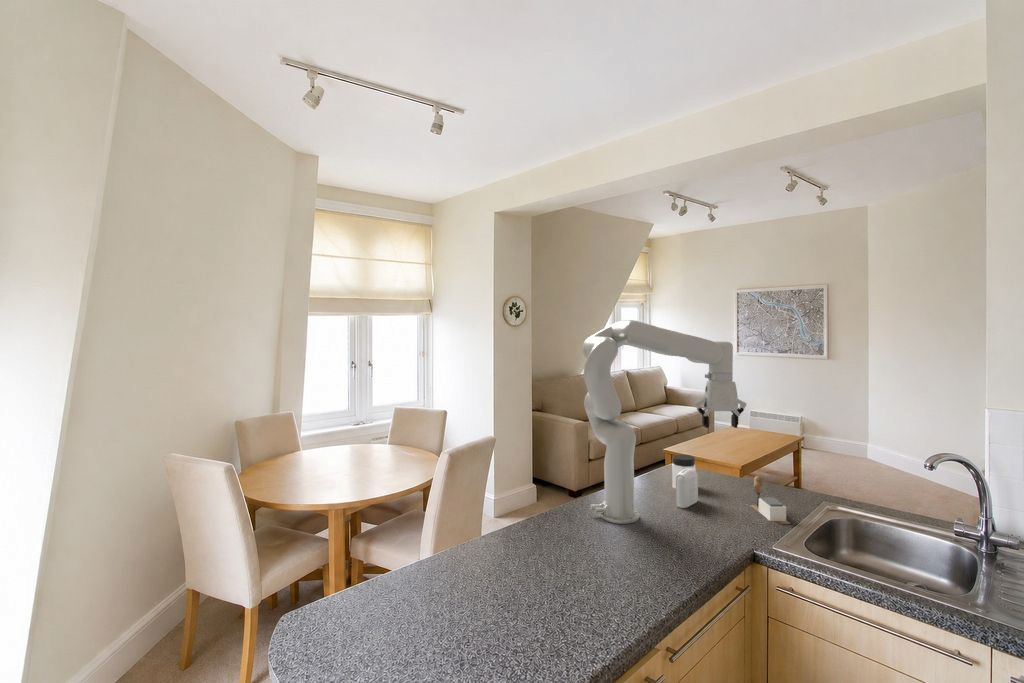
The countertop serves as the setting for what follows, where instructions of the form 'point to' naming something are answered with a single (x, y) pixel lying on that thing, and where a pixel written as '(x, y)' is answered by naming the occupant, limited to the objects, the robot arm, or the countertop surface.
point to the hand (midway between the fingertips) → (720, 427)
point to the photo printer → (686, 488)
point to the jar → (681, 465)
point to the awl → (758, 487)
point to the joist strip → (772, 521)
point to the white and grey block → (772, 509)
